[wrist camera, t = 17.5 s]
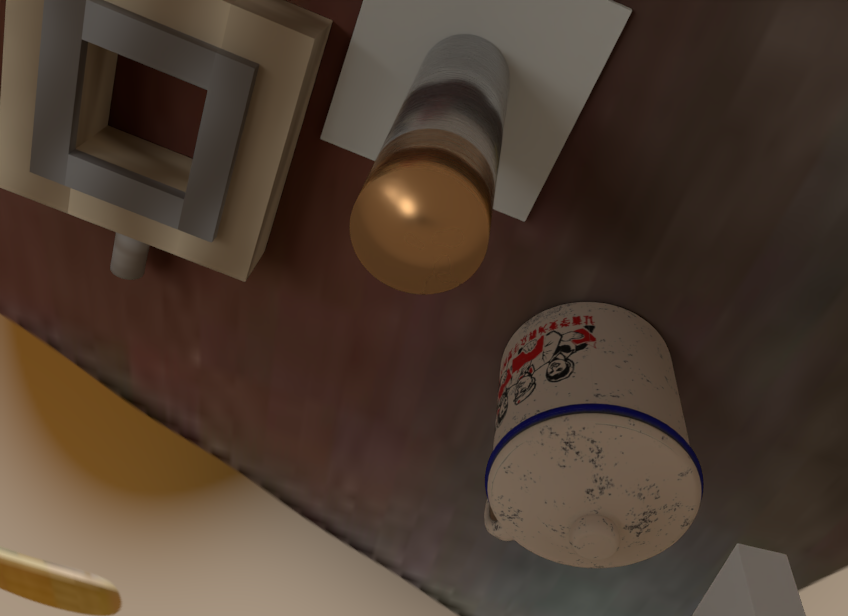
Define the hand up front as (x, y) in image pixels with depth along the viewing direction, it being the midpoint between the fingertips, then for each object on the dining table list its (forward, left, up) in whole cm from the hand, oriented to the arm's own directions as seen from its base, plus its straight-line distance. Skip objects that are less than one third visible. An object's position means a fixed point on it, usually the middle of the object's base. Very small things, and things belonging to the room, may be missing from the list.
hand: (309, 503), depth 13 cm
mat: (0, 0, -25) cm, 25 cm away
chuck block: (-12, -8, -25) cm, 28 cm away
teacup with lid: (+11, -13, -25) cm, 30 cm away
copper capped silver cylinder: (0, 0, -24) cm, 24 cm away
